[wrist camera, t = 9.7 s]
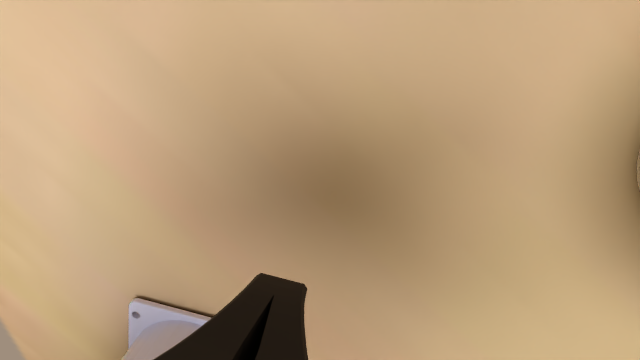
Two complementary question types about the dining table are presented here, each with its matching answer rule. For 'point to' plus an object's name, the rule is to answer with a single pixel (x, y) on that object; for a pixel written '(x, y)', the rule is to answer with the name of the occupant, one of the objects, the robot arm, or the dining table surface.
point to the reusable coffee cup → (638, 170)
